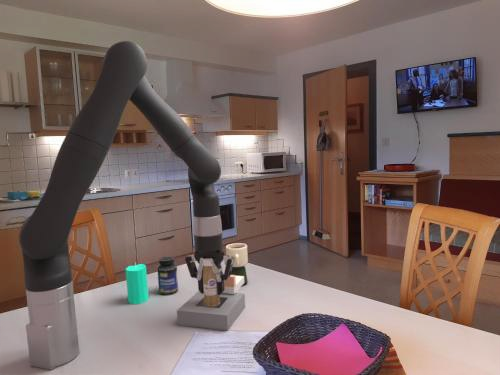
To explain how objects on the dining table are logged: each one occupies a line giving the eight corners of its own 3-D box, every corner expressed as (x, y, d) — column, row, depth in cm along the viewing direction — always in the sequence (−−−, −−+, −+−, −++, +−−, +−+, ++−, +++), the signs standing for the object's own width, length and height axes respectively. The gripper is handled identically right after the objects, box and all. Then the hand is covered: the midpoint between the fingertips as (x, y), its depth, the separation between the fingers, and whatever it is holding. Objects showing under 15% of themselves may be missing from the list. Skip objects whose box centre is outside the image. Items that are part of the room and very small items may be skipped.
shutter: (234, 294, 107) (233, 276, 107) (205, 291, 110) (204, 275, 109) (244, 282, 116) (243, 266, 115) (217, 280, 119) (216, 265, 118)
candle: (151, 296, 120) (148, 259, 118) (144, 304, 114) (141, 265, 112) (133, 296, 120) (129, 259, 119) (125, 304, 114) (121, 265, 113)
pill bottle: (159, 296, 119) (156, 262, 118) (158, 289, 125) (156, 257, 123) (179, 293, 120) (176, 260, 119) (177, 287, 126) (175, 254, 125)
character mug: (228, 278, 132) (226, 242, 131) (248, 277, 132) (246, 241, 131) (227, 290, 121) (225, 250, 120) (249, 289, 122) (247, 249, 120)
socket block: (227, 330, 95) (226, 315, 95) (177, 324, 99) (176, 310, 99) (245, 307, 108) (244, 293, 108) (200, 302, 113) (199, 290, 112)
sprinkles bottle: (207, 309, 101) (204, 260, 99) (201, 303, 105) (198, 256, 103) (223, 305, 103) (220, 257, 101) (216, 299, 107) (214, 253, 105)
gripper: (237, 229, 103) (240, 289, 105) (190, 227, 107) (193, 286, 109) (227, 235, 95) (231, 300, 97) (177, 234, 100) (181, 296, 102)
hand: (211, 292), depth 103 cm, fingers closed on sprinkles bottle, 4 cm apart
